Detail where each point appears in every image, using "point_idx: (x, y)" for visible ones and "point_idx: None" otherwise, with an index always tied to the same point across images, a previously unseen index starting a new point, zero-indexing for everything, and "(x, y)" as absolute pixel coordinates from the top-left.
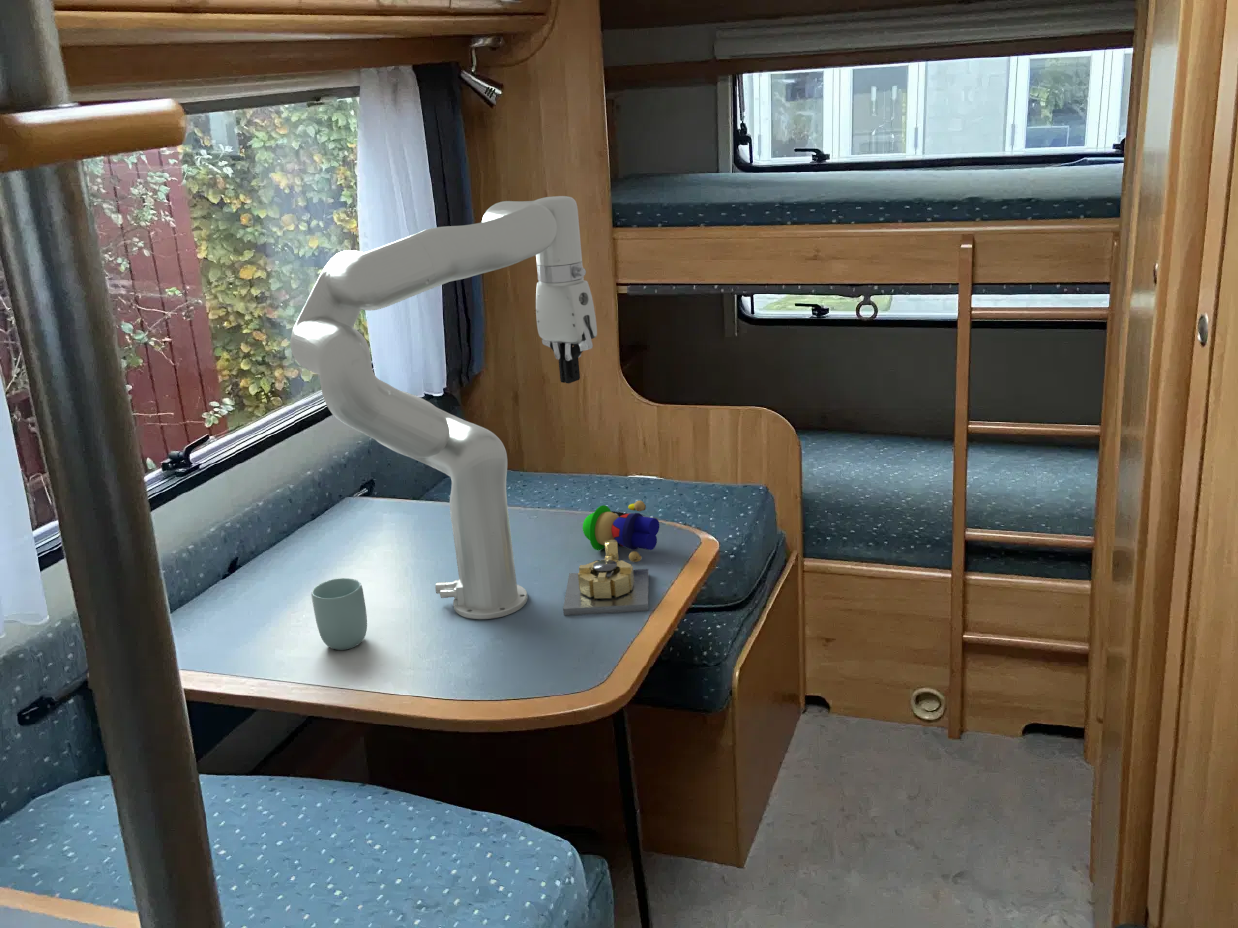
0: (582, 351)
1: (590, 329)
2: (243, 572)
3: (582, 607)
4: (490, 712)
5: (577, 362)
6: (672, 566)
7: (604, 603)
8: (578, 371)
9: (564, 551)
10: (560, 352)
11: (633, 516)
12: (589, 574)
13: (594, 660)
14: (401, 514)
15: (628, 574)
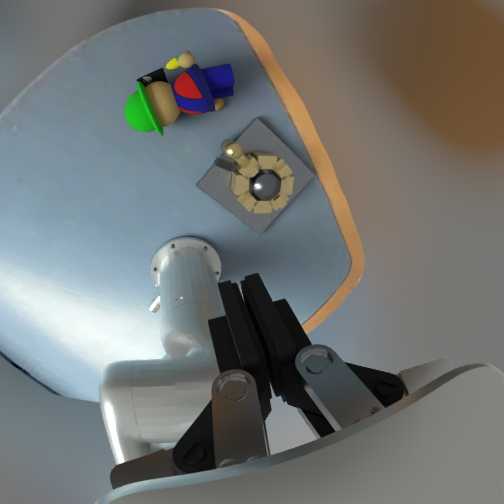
0: (371, 369)
1: (477, 416)
2: (23, 364)
3: (271, 220)
4: (318, 321)
5: (308, 342)
6: (258, 85)
7: None
8: (291, 311)
9: (123, 147)
10: (266, 432)
11: (209, 89)
12: (259, 203)
13: (330, 252)
14: None
15: (290, 173)
